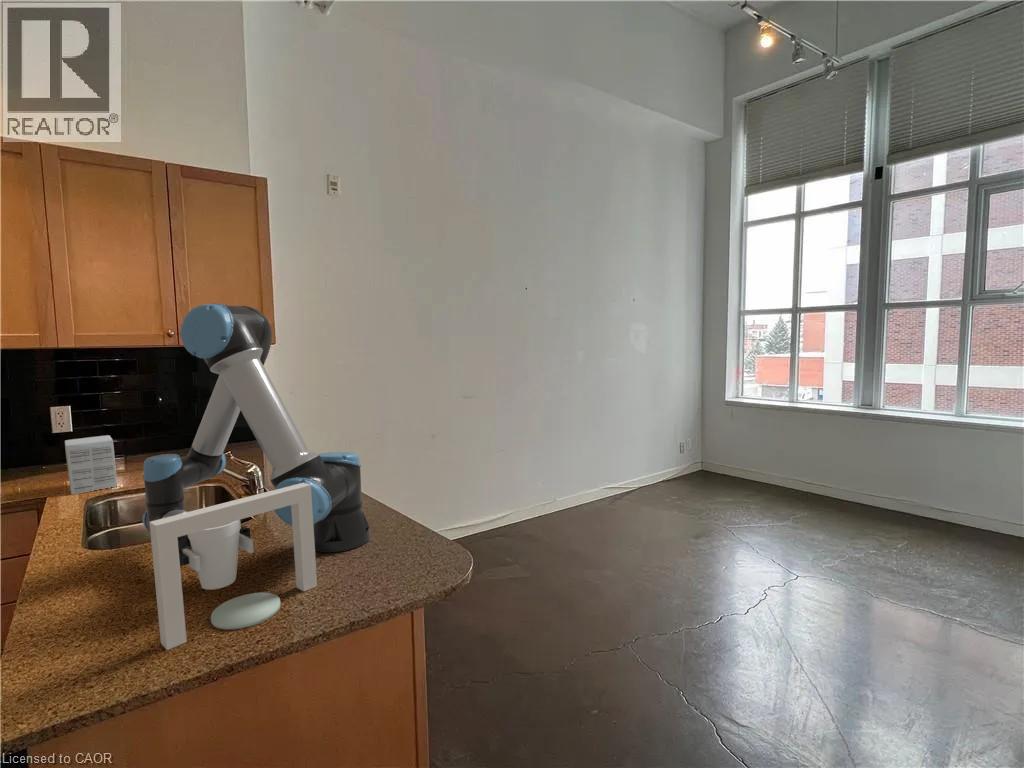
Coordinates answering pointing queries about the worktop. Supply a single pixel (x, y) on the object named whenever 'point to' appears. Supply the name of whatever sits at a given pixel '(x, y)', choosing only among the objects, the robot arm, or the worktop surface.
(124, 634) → the worktop surface
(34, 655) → the worktop surface
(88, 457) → the supplement box
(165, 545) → the keeper arch
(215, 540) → the foam cup
